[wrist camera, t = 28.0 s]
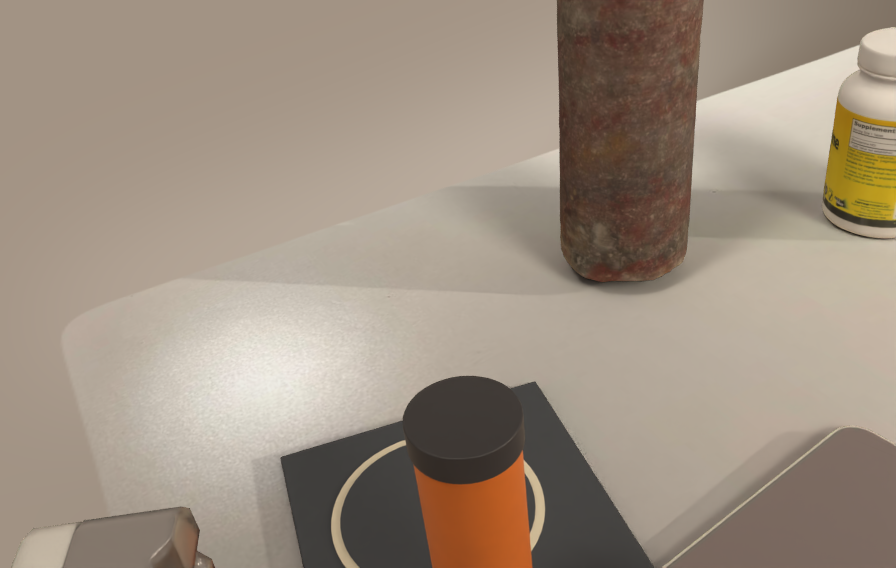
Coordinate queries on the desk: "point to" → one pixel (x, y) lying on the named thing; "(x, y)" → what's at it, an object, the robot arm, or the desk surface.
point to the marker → (470, 472)
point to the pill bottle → (865, 143)
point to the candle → (626, 134)
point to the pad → (400, 514)
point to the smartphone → (812, 512)
